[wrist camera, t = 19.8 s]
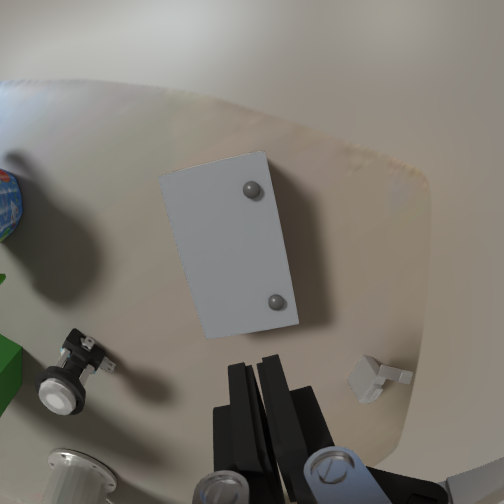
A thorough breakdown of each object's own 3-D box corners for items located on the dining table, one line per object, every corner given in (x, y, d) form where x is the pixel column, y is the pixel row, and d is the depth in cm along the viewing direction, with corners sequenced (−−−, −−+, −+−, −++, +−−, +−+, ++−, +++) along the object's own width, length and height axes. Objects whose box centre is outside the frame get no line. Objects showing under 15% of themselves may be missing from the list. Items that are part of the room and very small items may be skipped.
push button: (125, 350, 33) (101, 410, 24) (106, 377, 34) (83, 436, 25) (76, 317, 32) (38, 369, 22) (61, 346, 33) (26, 399, 23)
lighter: (357, 382, 38) (380, 424, 30) (346, 380, 37) (369, 423, 30) (385, 337, 36) (416, 375, 28) (374, 334, 36) (405, 373, 28)
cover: (298, 319, 27) (299, 326, 26) (207, 334, 28) (205, 342, 27) (264, 150, 23) (264, 150, 22) (161, 175, 24) (155, 177, 22)
